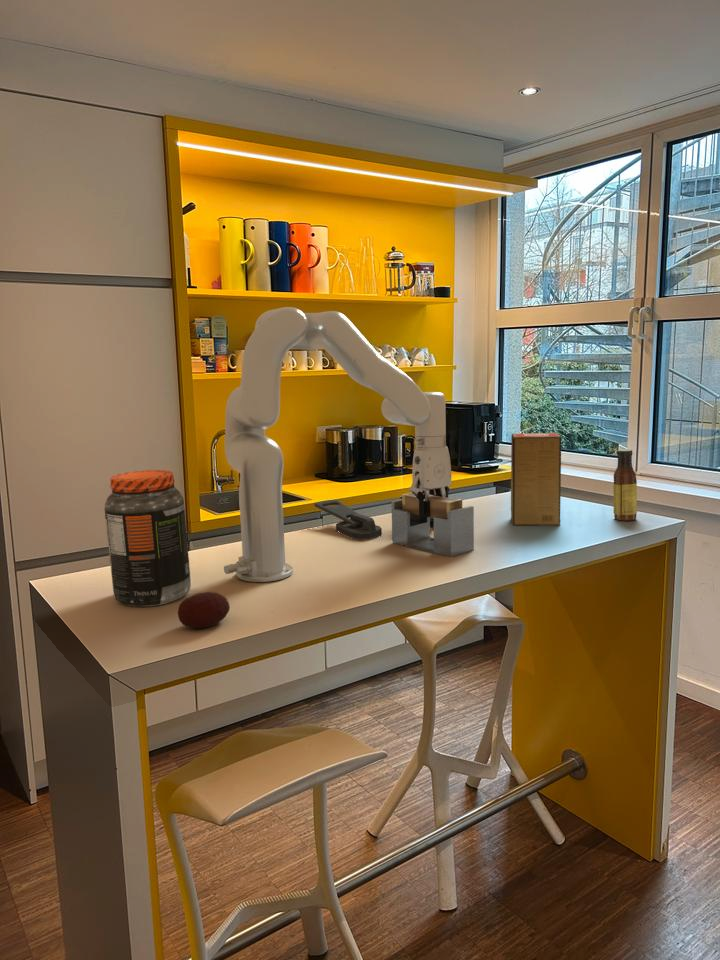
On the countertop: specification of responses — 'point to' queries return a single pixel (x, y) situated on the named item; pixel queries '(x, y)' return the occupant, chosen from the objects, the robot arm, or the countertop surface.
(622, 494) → the sauce bottle
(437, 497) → the brown rectangular block
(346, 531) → the zipper pull
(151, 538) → the supplement tub
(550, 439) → the food packaging
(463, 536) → the grey cradle stand
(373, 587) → the countertop surface
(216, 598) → the potato
